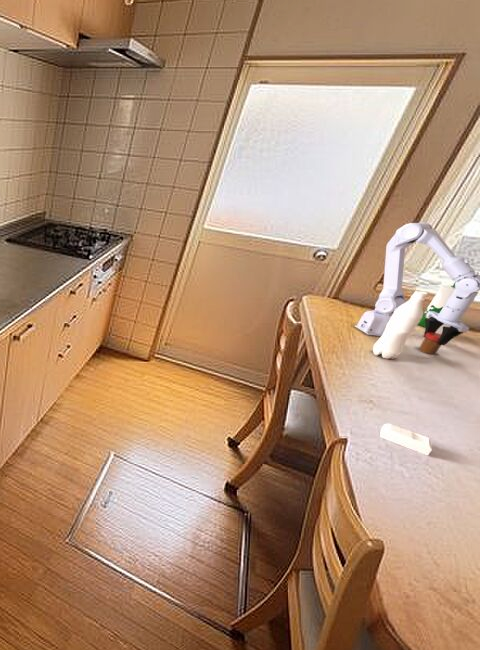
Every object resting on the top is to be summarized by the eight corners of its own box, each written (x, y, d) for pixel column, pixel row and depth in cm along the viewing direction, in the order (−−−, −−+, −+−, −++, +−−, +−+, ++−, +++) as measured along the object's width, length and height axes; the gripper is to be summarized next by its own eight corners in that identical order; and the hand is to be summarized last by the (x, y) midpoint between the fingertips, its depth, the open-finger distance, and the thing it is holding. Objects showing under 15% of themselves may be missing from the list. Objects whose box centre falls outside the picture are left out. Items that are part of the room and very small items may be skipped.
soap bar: (381, 429, 113) (386, 421, 112) (426, 446, 107) (432, 438, 106) (380, 437, 109) (385, 429, 108) (427, 455, 104) (433, 447, 103)
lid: (449, 343, 155) (452, 339, 154) (433, 341, 155) (435, 337, 154) (436, 336, 160) (438, 332, 159) (420, 334, 160) (422, 331, 159)
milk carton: (449, 330, 181) (478, 286, 172) (440, 332, 177) (469, 288, 168) (423, 321, 188) (450, 279, 179) (414, 324, 184) (440, 281, 175)
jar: (425, 353, 158) (435, 338, 155) (414, 347, 162) (424, 333, 159) (439, 355, 158) (449, 340, 155) (427, 348, 162) (437, 334, 159)
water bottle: (400, 362, 150) (441, 297, 138) (378, 358, 151) (417, 294, 140) (387, 352, 156) (425, 289, 145) (365, 349, 157) (402, 287, 146)
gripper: (487, 317, 145) (463, 351, 151) (449, 301, 158) (428, 333, 164) (464, 315, 145) (442, 349, 151) (429, 299, 158) (409, 331, 164)
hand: (433, 341), depth 158 cm, fingers closed on lid, 5 cm apart
